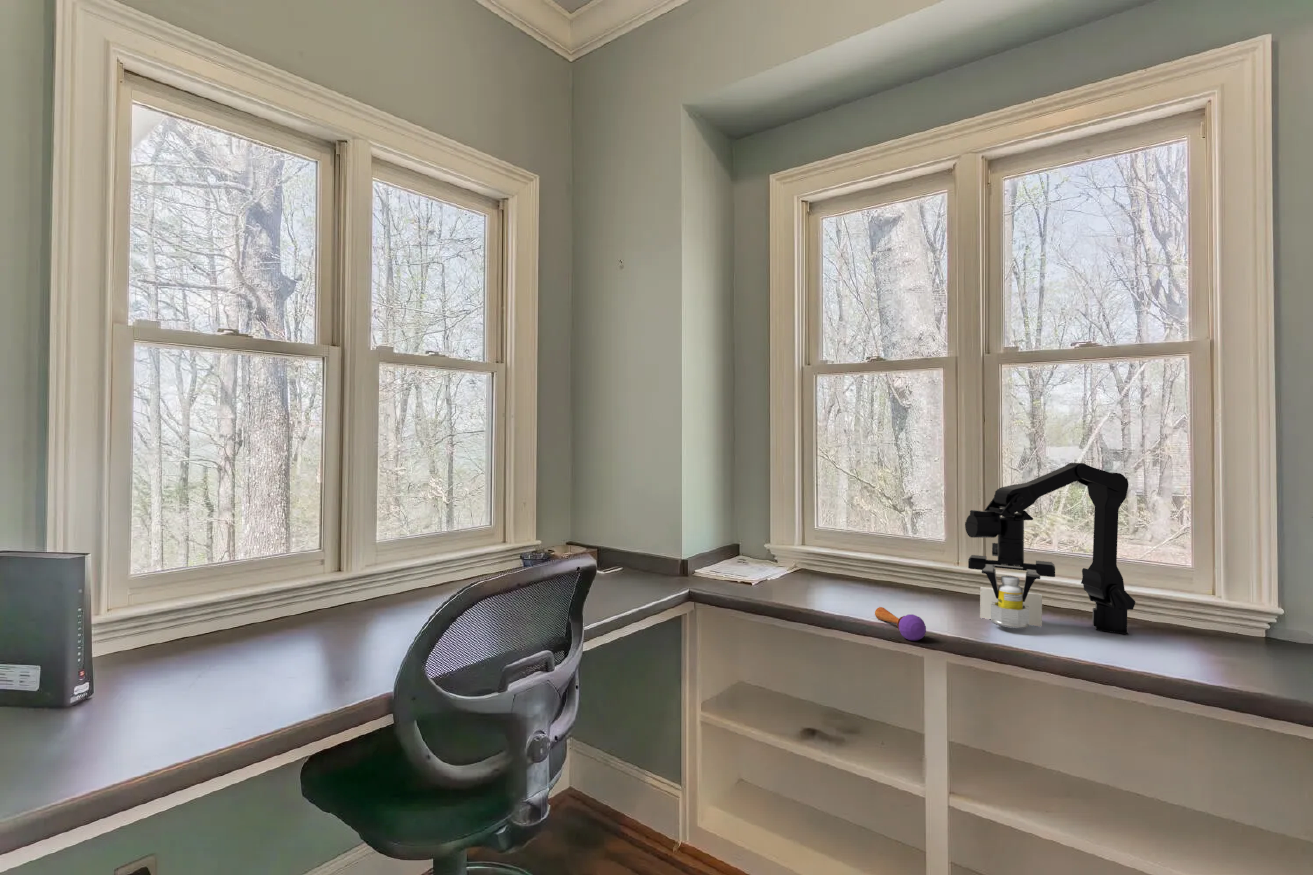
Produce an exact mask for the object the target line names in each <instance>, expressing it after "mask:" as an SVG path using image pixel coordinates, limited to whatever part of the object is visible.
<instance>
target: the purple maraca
mask: <svg viewBox="0 0 1313 875" xmlns="http://www.w3.org/2000/svg"><path fill="white" fill-rule="evenodd" d="M874 616H875V618H876V619H878V620H880V621H884V622H889V623H892V624H896V626H897V629H898V631H899V632H900V635H901V636H902V637H903V638H905V639H906V640H908V641H910V642H911V641H912V642H913V641H914V642H917V641H919V640H921V639H923V638H924V636H925V635H926V633H927V626H926V623H925V621H924V619H922V618H921V617H920V616H917V615H916V614H912V613H911V614H906V615H903V616H900V617H899V618H898V617H897V616H896V615H894V614H893V613H892V612H890V611H889V610H888V609H886V608H885V607H882V606H879V607H877V608H875V611H874Z"/></svg>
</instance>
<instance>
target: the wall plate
mask: <svg viewBox="0 0 1313 875" xmlns="http://www.w3.org/2000/svg"><path fill="white" fill-rule="evenodd" d="M979 593H980V594H979V597H980V598H979V603H980V604H979V605H980V606H979V618H980V619H982V618H985V619H984V620H989V619H991V603H992V602H996V601H998V599H996V596H995V593H994V590H993V588H992V587H985V586H980V591H979ZM1023 605H1026V606H1029V626H1033V625H1034V626H1035V627H1040V626H1041V627H1042V626H1043V622H1042V621H1043V594H1042V593H1037V592H1030V591H1029V592H1028V595H1027V597H1026V600H1025V602H1023Z"/></svg>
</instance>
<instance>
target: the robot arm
mask: <svg viewBox="0 0 1313 875" xmlns="http://www.w3.org/2000/svg"><path fill="white" fill-rule="evenodd" d="M1075 482H1077V483H1079V484H1081V485H1083V486H1086V487H1087V492H1088V494H1087V495H1088V497H1089V498H1090V501H1091V502H1092V504H1093V507H1094V512H1093V513H1094V515H1093V516H1094V517H1093V520H1094V521H1093V539H1092V540H1093V542H1092V543H1093V546H1092V562H1091V564H1090V565H1089V567H1088V568H1084V567H1083V568H1082V569H1081V573H1082V574H1081V575H1082V578H1081V582H1080V584H1082V586H1083V590H1084V591H1085V592H1086V593H1087V595H1088V598H1089V601H1090V602H1094V603H1095V606H1094V607H1093V608H1092V626H1094V628H1095V629H1096V631H1100V632H1106V633H1114V634H1122V635H1129V634H1130V633H1129V630H1128V611H1129V610H1130V611H1131V610H1134V608H1135V605H1136V600H1135V599H1134V598H1133V597H1132V596H1131V595H1130V594H1129V593H1128V592H1127V591H1126V590H1125V583H1124V577H1123V575H1122V573H1121V571H1120V569H1119V568H1118V566H1117V565H1118V563H1117V561H1118V560H1117V559H1118V558H1117V557H1118V539H1119V538H1118V536H1119V532H1118V531H1119V529H1118V528H1119V510H1120V507H1121V505H1122V504H1123V503H1124V502H1125V500H1126V499H1127V495H1128V489H1129V480H1128V478H1127V477H1126V476H1124V475H1123V474H1122V473H1119V472H1110V471H1106V470H1103V469H1099V468H1096V467H1093V466H1091V465H1088V464H1086V463H1085V462H1084V463H1083V462H1069V463H1067V464H1066V465H1064V466H1062V467H1060V468H1058V469H1056V470H1053V471H1050V472H1048V473H1045V474H1043V475H1041V476H1038V477H1037V478H1034V479H1032V480H1030V481H1027V482H1023V483H1016V484H1010V485H1007V486H1001V487H999V488H997V489H996V490H995V491H994V496H993V498H992V500H991V501H990V502H989V503H988V505H987V506H986V508H985V509H984V510H975V509H971V510H970V511H969V515H968V516H967V518H966V520H965V522H964V528H965V532H966V534H967V536H968V537H970V538H978V539H979V538H982V539H983V538H986V539H988V538H990V539H991V538H993V539H994V538H996V537H997V542H996V543H995V542H992V543H991V544H992V546H991V549H992V550H991V556H992V557H997V560H996V559H995V560H994V559H987V555H979V554H978V555H977V554H971V555H970V556H969V557H968V565H967V566H968V569H969V570H970V569H971V570H977V571H979V570H980V571H981V574H985V575H986V577H987V579H988V580H989V582H990V585H991V588H993V590H994V593H995V596H996V599H998V587H999V585H998V582H997V581H998V580H997V571H996V569H1004V570H1015V571H1026V572H1025V579H1024V585H1023V602H1025V600H1026V597H1027V595H1028V592H1030V590H1031V587H1032V586H1033V584H1034V583H1035V581H1036V580H1041V577H1050V578H1056V566H1055V564H1054V562H1052V561H1044V560H1035V563H1029V562H1028V563H1026V562H1025V532H1024V531H1025V521H1033V520H1034V517H1033V516H1031V515H1030V514H1029V513H1028V512H1027V511H1026V510H1027V509H1028V508H1029V507H1031V506H1033V505H1034V504H1035V503H1036V502H1037V500H1038V499H1039V498H1041V497H1044V496H1046V495H1048V494H1050V493H1052V492H1055V491H1056V490H1059V489H1061V488H1064V487H1066V486H1068V485H1071V484H1073V483H1075Z"/></svg>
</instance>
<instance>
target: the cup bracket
mask: <svg viewBox="0 0 1313 875" xmlns="http://www.w3.org/2000/svg"><path fill="white" fill-rule="evenodd" d="M990 622H991V623H992V624H994V625H996V626H1000V627H1004V628H1009V629H1010V628H1011V629H1026V628H1029V627H1030V625H1029V606H1026V605H1023V609H1010V608H1003V607H1000V606H998V601H996V602H992V603H991V620H990Z"/></svg>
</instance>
